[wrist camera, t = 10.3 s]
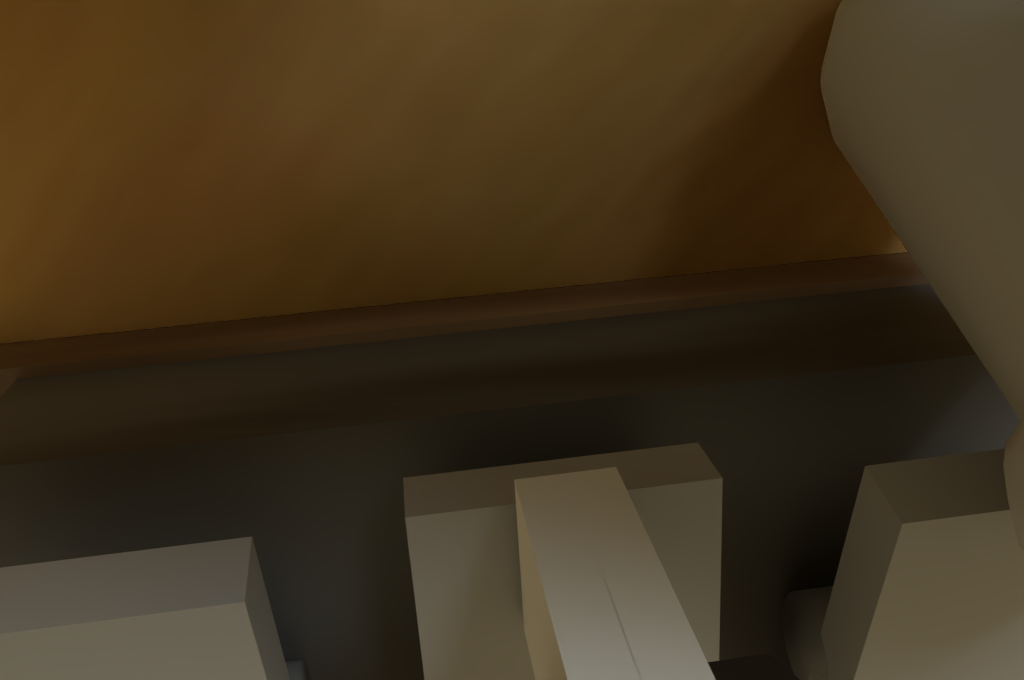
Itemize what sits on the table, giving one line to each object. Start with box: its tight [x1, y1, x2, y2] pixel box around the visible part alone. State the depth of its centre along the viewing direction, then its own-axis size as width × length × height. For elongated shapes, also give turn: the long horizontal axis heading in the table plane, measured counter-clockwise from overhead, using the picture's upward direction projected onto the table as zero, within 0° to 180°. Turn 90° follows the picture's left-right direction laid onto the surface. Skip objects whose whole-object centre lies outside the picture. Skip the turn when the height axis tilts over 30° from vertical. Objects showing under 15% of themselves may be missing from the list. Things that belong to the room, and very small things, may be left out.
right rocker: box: [783, 449, 1024, 680], centre depth 18 cm, size 10×5×3 cm, turn 4°
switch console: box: [0, 252, 1021, 680], centre depth 22 cm, size 16×23×5 cm
